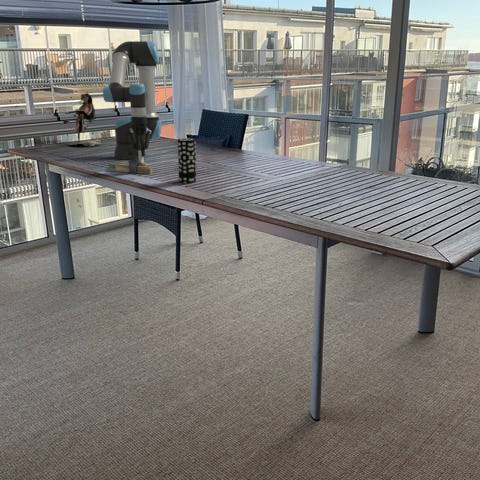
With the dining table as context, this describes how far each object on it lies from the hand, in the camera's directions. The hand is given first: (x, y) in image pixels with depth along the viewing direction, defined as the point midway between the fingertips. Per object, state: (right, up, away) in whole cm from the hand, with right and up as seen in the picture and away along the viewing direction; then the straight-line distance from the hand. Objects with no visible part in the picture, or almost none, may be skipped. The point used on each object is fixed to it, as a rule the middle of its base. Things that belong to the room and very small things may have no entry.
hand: (141, 162), depth 266 cm
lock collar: (-3, -4, +2) cm, 5 cm away
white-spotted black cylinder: (+26, -12, -19) cm, 34 cm away
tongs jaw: (-7, -3, +5) cm, 10 cm away
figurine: (-55, +25, +86) cm, 105 cm away
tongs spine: (-6, -4, +2) cm, 7 cm away
